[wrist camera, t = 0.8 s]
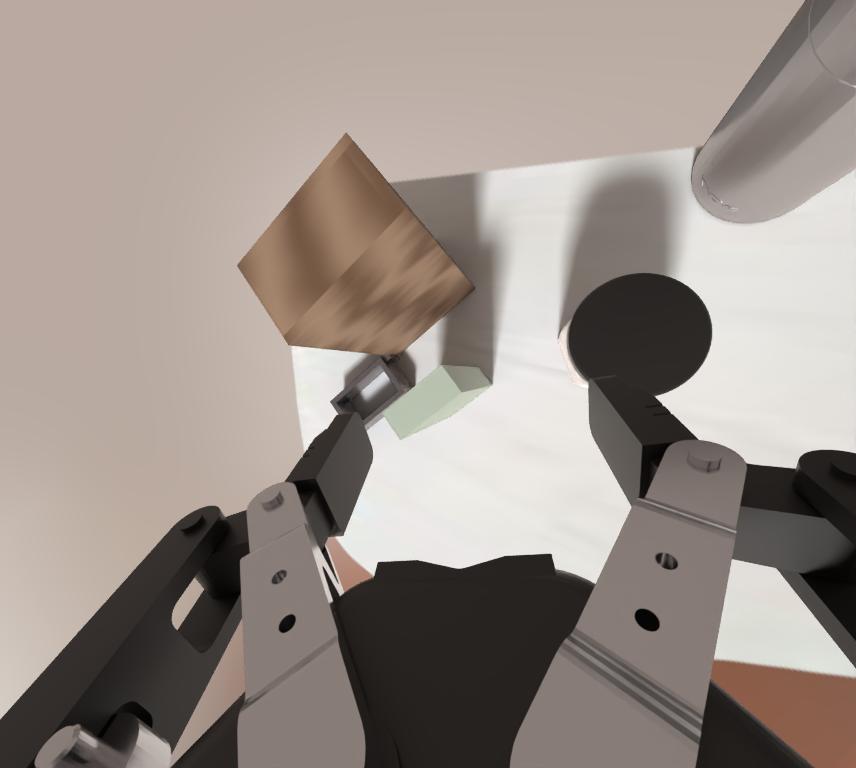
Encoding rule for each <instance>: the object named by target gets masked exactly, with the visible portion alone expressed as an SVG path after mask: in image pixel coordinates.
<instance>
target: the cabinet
mask: <svg viewBox="0 0 856 768" xmlns="http://www.w3.org/2000/svg"><path fill="white" fill-rule="evenodd" d="M237 266H238V268H239V269H240V271H241V272H242V274H243V275H244V277H245V278H246V280H247V282H248V283H249V285H250V286H251V288H252V289H253V291H254V292H255V294H256V295H257V297H258V298H259V300H260V301H261V303H262V305H263V306H264V308H265V309H266V311H267V312H268V314H269V315H270V317H271V319H272V320H273V322H274V323H275V325H276V326H277V328H278V329H279V331H280V333H281V334H282V335H283V337H284V339H285V340H286V342H287V343H288V345H291V346H301V347H311V348H321V349H330V350H340V351H350V352H360V353H370V354H379V355H395V356H398V355H400V354H401V353H402V352H403V351H404V350H405V349H406V348H408V347H409V346H410V345H411V344H412V343H413V342H414V341H416V340H417V339H418V338H419V337H420V336H421V335H422V334H424V333H425V332H426V331H427V330H428V329H429V328H430V327H432V326H433V325H434V324H435V323H436V322H437V321H438V320H440V319H441V318H442V317H443V316H444V315H445V314H446V313H448V312H449V311H450V310H451V309H452V308H453V307H455V306H456V305H457V304H458V303H459V302H460V301H461V300H463V299H464V298H465V297H466V296H467V295H468V294H469V293H471V292H472V291H473V290H474V289H475V287H474V286H473V285H472V284H471V282H470V281H469V280H468V279H467V277H466V276H465V275H464V274H463V272H462V271H461V270H460V269H459V268H458V266H457V265H456V264H455V263H454V261H453V260H452V259H451V258H450V256H449V255H448V254H447V253H446V251H445V250H444V249H443V248H442V246H441V245H440V244H439V243H438V242H437V240H436V239H435V238H434V237H433V235H432V234H431V233H430V232H429V231H428V229H427V228H426V227H425V226H424V225H423V223H422V222H421V221H420V220H419V219H418V218H417V216H416V215H415V214H414V213H413V212H412V210H411V209H410V208H409V207H408V206H407V204H406V203H405V202H404V201H403V200H402V198H401V197H400V196H399V195H398V194H397V192H396V191H395V190H394V189H393V188H392V186H391V185H390V184H389V183H388V182H387V180H386V179H385V178H384V177H383V176H382V175H381V173H380V172H379V171H378V170H377V168H376V167H375V166H374V165H373V164H372V163H371V161H370V160H369V159H368V158H367V157H366V155H365V154H364V153H363V152H362V151H361V150H360V148H359V147H358V146H357V145H356V143H355V142H354V141H353V140H352V139H351V137H350V136H349V135H348V134H347V133H345V134H344V136H343V137H342V138H341V139H340V141H339V142H338V143H337V144H336V146H335V147H334V148H333V149H332V150H331V152H330V153H329V154H328V155H327V156H326V158H325V159H324V160H323V161H322V162H321V164H320V165H319V166H318V167H317V169H316V170H315V171H314V172H313V173H312V175H311V176H310V177H309V179H308V180H307V181H306V182H305V183H304V185H303V186H302V187H301V188H300V189H299V191H298V192H297V193H296V194H295V195H294V197H293V198H292V199H291V201H290V202H289V203H288V204H287V205H286V206H285V208H284V209H283V210H282V211H281V212H280V214H279V215H278V216H277V217H276V219H275V220H274V221H273V222H272V223H271V225H270V226H269V227H268V228H267V230H266V231H265V232H264V233H263V234H262V236H261V237H260V238H259V239H258V241H257V242H256V243H255V244H254V245H253V247H252V248H251V249H250V250H249V251H248V253H247V254H246V255H245V256H244V258H243V259H242V260H241V261H240V262H239V264H238V265H237Z"/></svg>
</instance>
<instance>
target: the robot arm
mask: <svg viewBox="0 0 856 768" xmlns="http://www.w3.org/2000/svg"><path fill="white" fill-rule="evenodd" d="M855 169H856V0H805V2H804V3H803V5H802V6H801V8H800V9H799V10H798V12H797V13H796V15H795V16H794V18H793V19H792V20H791V22H790V23H789V25H788V26H787V28H786V29H785V30H784V32H783V33H782V35H781V36H780V38H779V39H778V40H777V42H776V43H775V45H774V46H773V48H772V49H771V50H770V52H769V53H768V55H767V56H766V58H765V59H764V60H763V62H762V63H761V65H760V66H759V68H758V69H757V70H756V72H755V73H754V75H753V76H752V78H751V79H750V80H749V82H748V83H747V85H746V86H745V88H744V89H743V90H742V92H741V93H740V95H739V96H738V98H737V99H736V100H735V102H734V103H733V105H732V106H731V108H730V109H729V110H728V112H727V113H726V115H725V116H724V117H723V119H722V120H721V122H720V123H719V124H718V126H717V127H716V129H715V130H714V132H713V133H712V135H711V136H710V137H709V139H708V140H707V142H706V143H705V145H704V146H703V148H702V149H701V151H700V153H699V154H698V156H697V158H696V161H695V163H694V166H693V170H692V178H691V181H692V188H693V192H694V195H695V197H696V199H697V201H698V202H699V203H700V205H701V206H702V207H703V209H705V210H706V211H707V212H709V213H710V214H711V215H713V216H715V217H717V218H720V219H722V220H725V221H729V222H734V223H756V222H762V221H767V220H770V219H773V218H776V217H779V216H781V215H783V214H785V213H787V212H789V211H791V210H793V209H795V208H796V207H798V206H799V205H801V204H802V203H804V202H805V201H807V200H809V199H810V198H812V197H813V196H815V195H816V194H818V193H819V192H821V191H822V190H824V189H825V188H827V187H828V186H830V185H832V184H833V183H835V182H836V181H838V180H839V179H841V178H842V177H844V176H846V175H847V174H849V173H850V172H852V171H853V170H855ZM588 395H589V424H590V429H591V433H592V436H593V438H594V440H595V442H596V444H597V445H598V447H599V449H600V451H601V452H602V454H603V456H604V458H605V460H606V461H607V463H608V465H609V467H610V469H611V470H612V472H613V474H614V476H615V478H616V479H617V481H618V483H619V485H620V487H621V488H622V490H623V492H624V494H625V495H626V497H627V499H628V501H629V503H630V504H631V506H632V508H631V510H630V512H629V514H628V517H627V519H626V521H625V523H624V525H623V527H622V529H621V531H620V534H619V536H618V538H617V540H616V542H615V544H614V546H613V548H612V551H611V553H610V555H609V557H608V559H607V561H606V563H605V565H604V568H603V570H602V572H601V574H600V576H599V578H598V580H597V582H596V584H594V583H592V582H591V581H589V580H587V579H584V578H582V577H580V576H578V575H575V574H572V573H569V572H566V571H562V570H557V569H555V567H554V563H553V559H552V555H551V554H537V555H516V556H504V557H500V558H497V559H494V560H490V561H487V562H483V563H480V564H477V565H473V566H470V567H467V568H462V569H456V568H451V567H446V566H442V565H437V564H432V563H428V562H423V561H418V560H412V561H392V562H378V564H377V568H376V572H375V576H374V577H373V578H370V579H368V580H366V581H363V582H361V583H360V584H357V585H356V586H354V587H352V588H350V589H349V590H348V591H346V592H345V593H344V591H343V588H342V585H341V583H340V580H339V577H338V575H337V572H336V569H335V566H334V564H333V561H332V558H331V556H330V553H329V550H328V548H327V547H326V544H325V543H326V541H327V539H328V537H335V536H343V535H344V532H345V530H346V527H347V525H348V522H349V520H350V517H351V515H352V512H353V510H354V507H355V504H356V502H357V499H358V497H359V494H360V492H361V489H362V487H363V484H364V482H365V479H366V476H367V474H368V471H369V469H370V466H371V464H372V460H373V450H372V445H371V443H370V440H369V437H368V434H367V432H366V429H365V426H364V423H363V421H362V418H361V416H360V414H359V413H358V412H353V413H346V414H339V415H337V416H336V417H335V418H334V420H333V421H332V423H331V424H330V426H329V427H328V429H325V430H324V431H323V432H322V433H321V434H319V435H318V436H317V437H316V438H315V439H314V440H313V442H312V443H311V444H310V446H309V447H308V450H306V452H305V453H304V455H303V458H301V459H300V460H299V462H298V463H297V465H296V466H295V468H294V469H293V470H292V472H291V473H290V475H289V476H288V478H287V479H286V480H285V482H282V483H278V484H275V485H272V486H270V487H268V488H266V489H265V490H263V491H262V492H260V493H259V494H258V495H257V496H256V497H254V499H253V500H252V501H251V502H250V504H249V505H248V508H247V510H245V511H242V512H239V513H237V514H233V515H230V516H228V517H225V516H224V515H223V513H222V512H221V510H220V509H219V508H218V507H217V506H207V507H203V508H201V509H198V510H196V511H194V512H192V513H190V514H188V515H187V516H185V517H184V518H183V519H181V520H180V521H179V522H178V523H176V524H175V525H174V526H173V528H171V530H170V531H169V532H168V533H167V534H166V535H165V536H164V537H163V539H162V540H161V541H160V542H159V543H158V544H157V545H156V547H155V548H154V549H153V550H152V551H151V552H150V553H149V554H148V555H147V556H146V558H145V559H144V560H143V561H142V562H141V563H140V564H139V565H138V566H137V568H136V569H135V570H134V571H133V572H132V573H131V574H130V575H129V576H128V578H127V579H126V580H125V581H124V582H123V583H122V584H121V585H120V587H119V588H118V589H117V590H116V591H115V592H114V593H113V594H112V595H111V597H110V598H109V599H108V600H107V601H106V602H105V603H104V604H103V606H102V607H101V608H100V609H99V610H98V611H97V612H96V613H95V614H94V616H93V617H92V618H91V619H90V620H89V621H88V622H87V623H86V625H85V626H84V627H83V628H82V629H81V630H80V631H79V632H78V633H77V635H76V636H75V637H74V638H73V639H72V640H71V641H70V642H69V644H68V645H67V646H66V647H65V648H64V649H63V650H62V651H61V653H60V654H59V655H58V656H57V657H56V658H55V659H54V660H53V661H52V663H51V664H50V665H49V666H48V667H47V668H46V669H45V671H43V673H42V674H41V675H40V676H39V677H38V678H37V680H35V682H34V683H33V684H32V685H31V686H30V687H29V688H28V689H27V690H26V692H25V693H24V694H23V695H22V696H21V697H20V698H19V699H18V700H17V702H16V703H15V704H14V705H13V706H12V707H11V708H10V709H9V710H8V712H7V713H6V714H5V715H4V716H3V717H2V718H1V719H0V768H169V765H170V761H171V754H172V752H173V751H174V749H175V747H176V745H177V743H178V741H179V739H180V737H181V735H182V733H183V731H184V729H185V727H186V725H187V723H188V721H189V720H190V718H191V715H192V714H193V712H194V710H195V708H196V706H197V704H198V702H199V700H200V698H201V696H202V694H203V692H204V691H205V689H206V687H207V685H208V683H209V681H210V679H211V677H212V675H213V673H214V671H215V669H216V667H217V665H218V663H219V661H220V659H221V658H222V655H223V654H224V652H225V650H226V648H227V646H228V644H229V642H230V640H231V638H232V636H233V634H234V632H235V630H236V629H237V627H238V625H239V623H240V621H241V619H242V622H243V644H244V668H245V689H246V690H245V692H244V693H243V694H242V695H241V696H240V697H239V699H237V701H235V702H234V703H233V704H232V705H231V707H230V708H228V709H227V711H226V712H225V713H224V714H223V715H222V716H221V717H220V718H219V719H218V720H217V721H216V722H215V723H214V724H213V725H212V726H211V727H210V728H209V729H208V730H207V731H206V732H205V733H204V734H203V735H202V736H201V737H200V738H199V739H198V740H197V741H196V742H195V743H194V744H193V745H192V746H191V747H190V748H189V749H188V750H187V751H186V752H185V753H184V754H183V756H181V758H179V760H178V761H177V762H176V763H175V764H174V765H173V766H172V767H171V768H815V767H814V766H813V765H811V764H810V763H809V762H808V761H807V760H805V759H804V758H803V757H802V756H801V755H800V754H798V753H797V752H796V751H795V750H794V749H793V748H791V747H790V746H789V745H788V744H787V743H786V742H784V741H783V740H782V739H781V738H780V737H778V736H777V735H776V734H775V733H774V732H773V731H772V730H770V729H769V728H768V727H767V726H766V725H765V724H763V723H762V722H761V721H760V720H759V719H757V718H756V717H755V716H754V715H753V714H752V713H750V712H749V711H748V710H747V709H746V708H745V707H743V706H742V705H741V704H740V703H738V701H736V700H735V699H734V698H733V697H732V696H731V695H729V694H728V693H727V692H726V691H725V690H724V689H722V688H721V687H720V686H719V685H717V684H716V683H715V682H714V681H713V680H712V679H711V678H710V676H711V671H712V665H713V660H714V654H715V649H716V643H717V638H718V632H719V627H720V621H721V616H722V610H723V604H724V599H725V593H726V588H727V582H728V577H729V571H730V566H731V560H732V559H735V560H740V561H744V562H749V563H754V564H759V565H764V566H769V567H774V568H777V569H778V571H779V572H780V573H781V575H782V576H783V577H784V578H785V580H786V581H787V582H788V583H789V585H790V586H791V587H792V588H793V590H794V591H795V592H796V593H797V595H798V596H799V597H800V598H801V600H802V601H803V602H804V604H805V605H806V606H807V607H808V609H809V610H810V611H811V612H812V614H813V615H814V616H815V617H816V619H817V620H818V621H819V622H820V624H821V625H822V626H823V627H824V629H825V630H826V631H827V633H828V634H829V635H830V636H831V638H832V639H833V640H834V641H835V643H836V644H837V645H838V646H839V648H840V649H841V650H842V651H843V653H844V654H845V655H846V656H847V658H848V659H849V660H850V662H851V663H852V664H853V665H854V667H855V668H856V453H851V452H846V451H838V450H816V451H811V452H807V453H805V454H803V455H802V456H801V457H800V458H799V461H798V464H797V467H796V469H792V468H782V467H772V466H761V465H753V464H747V463H746V462H745V461H744V459H743V458H742V457H741V456H740V455H739V454H737V453H736V452H735V451H733V450H731V449H729V448H727V447H725V446H723V445H720V444H717V443H713V442H709V441H703V440H698V439H697V438H696V437H695V436H694V435H693V434H692V433H691V432H690V431H689V430H688V429H687V428H686V427H685V426H684V425H683V424H682V423H681V422H680V421H679V420H678V419H677V418H676V417H675V416H674V415H673V414H671V413H670V411H669V410H668V409H667V408H666V407H665V406H662V403H661V402H660V401H659V400H658V399H656V398H655V397H654V396H653V395H652V394H650V393H648V392H646V391H643V390H641V389H639V388H630V389H628V388H627V386H626V385H625V384H624V383H623V382H622V381H621V380H620V379H619V378H618V377H617V376H616V375H612V376H605V377H599V378H592V379H590V380H589V383H588ZM194 577H195V578H196V580H197V581H198V582H199V583H200V584H201V585H202V587H203V588H204V591H203V592H202V594H201V595H200V597H199V598H198V600H197V602H196V603H195V605H194V606H193V608H192V609H191V610H190V612H189V614H188V615H187V617H186V618H185V620H184V621H183V623H182V624H181V626H180V627H179V629H178V630H176V629H175V628H174V626H173V624H172V620H171V619H172V612H173V609H174V606H175V604H176V603H177V601H178V600H179V598H180V597H181V595H182V594H183V593H184V591H185V590H186V588H187V587H188V586H189V584H190V583H191V581H192V580H193V579H194Z"/></svg>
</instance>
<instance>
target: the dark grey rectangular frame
mask: <svg viewBox="0 0 856 768" xmlns="http://www.w3.org/2000/svg"><path fill="white" fill-rule="evenodd" d="M399 359H400V358H399V357H398V356H395V355H383V356H382V357H380V358H379V359H377V360H376V361H375V362H374V363H373V364H372V365H371V366H370V367H369V368H367V369H366V370H365V371H364V372H363V373H362V374H361V375H360V376H358V377H357V378H356V379H355V380H354V381H353V382H352V383H351V384H349V385H348V386H347V387H346V388H345V389H344V390H343V391H342V392H340V393H339V394H338V395H337V396H336V397H335V398H334V399H333V400H331V401H330V402H331V404H332V405H333V407H334V408H335V410H336V411H337V413H338V414H346V413H353V412H357V410H356V409H355V407H354V406H353V404H352V403H351V401H350V400H351V399H353V398H354V397H355V396H356V395H357V394H358V393H359V392H361V391H362V390H363V389H364V388H365V387H366V386H367V385H369V384H370V383H371V382H372V381H373V380H374V379H376V378H377V377H378V376H379V375H380V374H381V373H382V372H385V373H386V374H387V376H388V377H389V379H390V380H391V382H392V383H393V384H394V386H395V387H396V389H397V390H398V392H397V393H396V394H394V395H393V396H392V397H391V398H390V399H388V400H387V401H386V402H385V403H384V404H382V405H381V406H380V407H379V408H378V409H376V410H375V411H374V412H373V413H372V414H370V415H369V416H368V417H367V418H366V419H364V420H363V419H362V421H363V423H364V426H365V429H366V431H367V430H368V429H369V428H370V427H372V426H373V425H374V424H375V423H377V422H378V421H379V420H380V419H381V418H383V417H384V415H383V414H382V413H383V412H384V411H385V410H387V409H388V408H389V407H390V406H391V405H393V404H394V403H395V402H396V401H397V400H399V399H400V398H401V397H402V396H403V395H404V393H406V392H407V391H408V390H409V389H411V388H413V387H412V386H411V384H410V383H409V381H408V380H407V379H406V377H405V376H404V374H403V373H402V371H401V370H400V369H399V367H398V366H397V364H396V363H395V362H396V361H397V360H399Z"/></svg>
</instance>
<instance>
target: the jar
mask: <svg viewBox="0 0 856 768" xmlns="http://www.w3.org/2000/svg"><path fill="white" fill-rule="evenodd" d="M711 341H712V323H711V318H710V315H709V312H708V310H707V308H706V306H705V304H704V303H703V301H702V300H701V299H700V297H699V296H698V295H697V294H696V293H695V292H694V291H693V290H692V289H691V288H689V287H688V286H686V285H685V284H683V283H682V282H680V281H678V280H676V279H673V278H671V277H667V276H664V275H659V274H652V273H637V274H630V275H625V276H621V277H618V278H615V279H612V280H610V281H608V282H605V283H603V284H602V285H601V286H599V287H598V288H596V289H595V290H594V291H592V292H591V293H590V294H589V295H588V296H587V297H586V298H585V299H584V300H583V301H582V303H581V304H580V305H579V307H578V308H577V310H576V312H575V314H574V316H573V318H572V319H571V320H570V321H569V322H568V323H567V324H566V325H565V326H564V328H563V329H562V330H561V333H560V336H559V338H558V345H559V348H560V350H561V353H562V356H563V359H564V361H565V364H566V367H567V370H568V372H569V375H570V378H571V381H572V382H573V383H575V384H577V385H579V386H582V387H585V388H588V383H589V380H590V379H592V378H599V377H605V376H612V375H616V376H617V377H618V378H619V379H620V380H621V381H622V382H623V383H624V384H625V385H626V386H627V388H628V389H630V388H639V389H641V390H643V391H646V392H648V393H650V394H652V395H653V396H658V395H661V394H664V393H667V392H669V391H671V390H673V389H675V388H677V387H679V386H680V385H682V384H683V383H685V382H686V381H687V380H689V379H690V378H691V377H692V376H693V375H694V374H695V373H696V372H697V371H698V370H699V368H700V367H701V365H702V364H703V362H704V361H705V359H706V357H707V355H708V352H709V349H710V346H711Z"/></svg>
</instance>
